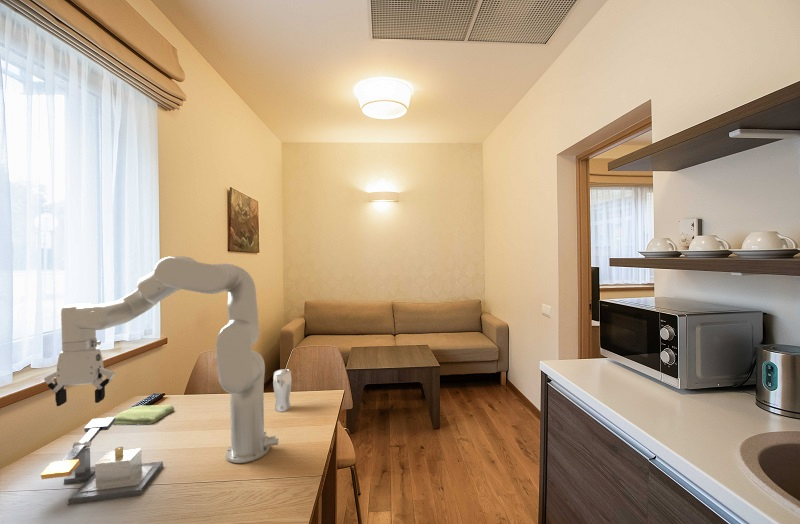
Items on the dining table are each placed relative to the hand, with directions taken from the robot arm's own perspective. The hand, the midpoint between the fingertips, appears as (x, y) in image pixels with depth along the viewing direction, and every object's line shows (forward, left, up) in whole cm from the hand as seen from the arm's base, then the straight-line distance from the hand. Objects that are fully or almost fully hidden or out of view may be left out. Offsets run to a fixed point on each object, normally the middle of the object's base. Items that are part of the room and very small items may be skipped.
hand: (80, 402), depth 106 cm
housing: (-17, +14, -17) cm, 27 cm away
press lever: (-5, +8, -9) cm, 13 cm away
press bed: (-13, +13, -18) cm, 26 cm away
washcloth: (-2, -31, -19) cm, 36 cm away
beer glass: (-55, -26, -18) cm, 63 cm away
